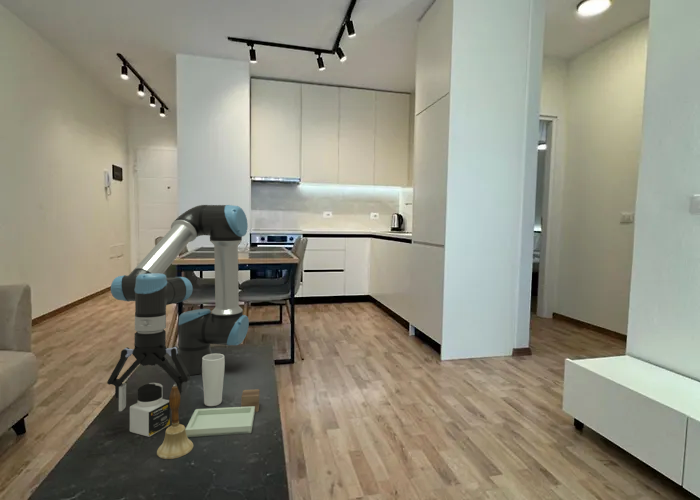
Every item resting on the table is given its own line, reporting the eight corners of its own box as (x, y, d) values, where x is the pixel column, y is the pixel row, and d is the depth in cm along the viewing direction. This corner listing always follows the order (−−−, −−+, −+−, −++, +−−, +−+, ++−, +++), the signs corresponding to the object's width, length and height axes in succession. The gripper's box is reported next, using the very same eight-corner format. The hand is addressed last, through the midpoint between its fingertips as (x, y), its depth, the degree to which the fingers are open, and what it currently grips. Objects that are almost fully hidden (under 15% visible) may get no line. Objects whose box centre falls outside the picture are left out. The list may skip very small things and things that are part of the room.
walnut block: (243, 405, 119) (243, 390, 119) (259, 404, 120) (259, 389, 120) (241, 413, 115) (241, 396, 114) (258, 412, 115) (258, 395, 115)
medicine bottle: (149, 437, 100) (149, 392, 99) (129, 432, 102) (129, 388, 102) (170, 425, 106) (170, 382, 106) (151, 420, 109) (151, 379, 108)
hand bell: (177, 462, 89) (177, 395, 89) (148, 455, 92) (148, 390, 91) (200, 443, 97) (200, 382, 97) (173, 438, 100) (173, 378, 99)
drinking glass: (216, 409, 116) (217, 361, 116) (197, 406, 118) (197, 359, 117) (228, 400, 123) (228, 354, 122) (209, 397, 124) (209, 352, 124)
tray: (195, 415, 112) (195, 409, 112) (254, 412, 115) (254, 406, 115) (184, 437, 100) (184, 429, 100) (251, 433, 103) (251, 425, 103)
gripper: (93, 334, 97) (92, 416, 98) (195, 333, 101) (194, 411, 102) (106, 328, 105) (105, 404, 105) (201, 326, 109) (200, 400, 109)
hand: (149, 407), depth 104 cm, fingers open, 13 cm apart
